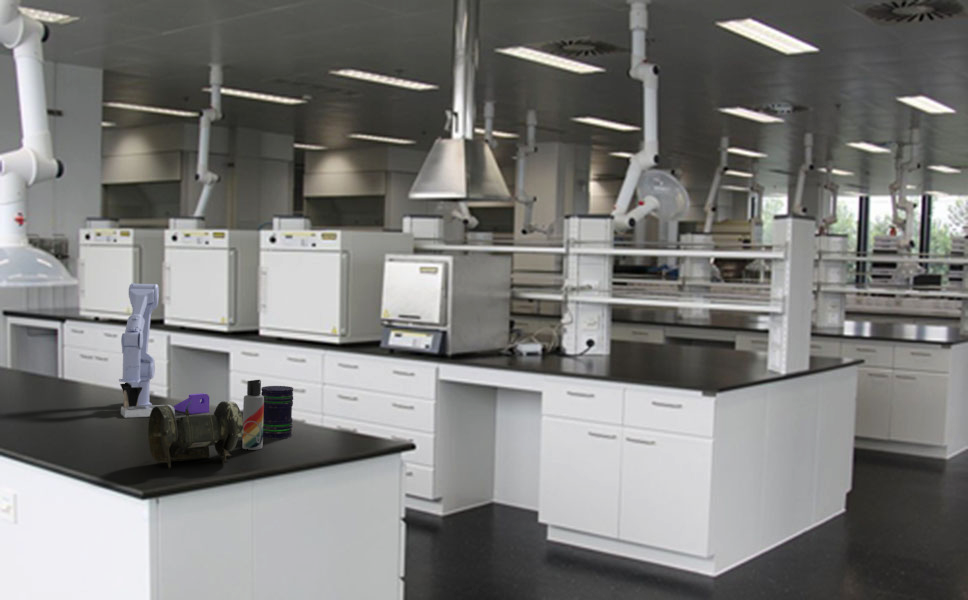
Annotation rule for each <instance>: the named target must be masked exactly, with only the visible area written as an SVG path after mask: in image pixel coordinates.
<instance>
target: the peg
mask: <svg viewBox="0 0 968 600" xmlns="http://www.w3.org/2000/svg"><path fill="white" fill-rule="evenodd" d="M125 406H129V403H128V396H127V392H126V390H124V393H123V407H125ZM136 406H138V401H137V405H136Z"/></svg>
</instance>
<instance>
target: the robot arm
mask: <svg viewBox="0 0 968 600" xmlns="http://www.w3.org/2000/svg"><path fill="white" fill-rule="evenodd" d="M159 294H160V286H159V285H158V284H157V283H133V282H132V283H130V284H129V286H128V298H129V303H130V305H131V307H132V312H131V313H132V314H131V315H130V316H128V317H127V322H126V326H125V330H124V333H122V334H121V339H120V340H121V341H120V343H121V353H122V378H119V379H118V381H119V382H121V383H120V384H119V385H120V387H121V390H122V392H123V394H124V390H126V392H127V396H128V403H129V406H136V405H137V401H138V406H150V405H153V403H152V402H150V392H151V390H150V388H151V387H150V384H151V382H150V381H151V380H152V379H153V378H154V376H155V370H156V369H155V367H156V366H155V363H156V362H155V358H154V357H153V356H152V355H151V354H149V353H148V350H149V349H148V348H149V339H150V329H151V316H152V314H153V311H154V310H155V309H158V306H159V298H160V297H159V296H160V295H159Z"/></svg>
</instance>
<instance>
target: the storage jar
mask: <svg viewBox="0 0 968 600" xmlns="http://www.w3.org/2000/svg"><path fill="white" fill-rule="evenodd" d="M293 391H294V387H292V386H285V385H267V386H261V395H262V396H264V412H263V437H264V438H263V439H268V438H272V439H274V440H281V438H284V439H288V437H289V438H291V437H293V434H292V432H293V417H292V416H293V415H292V413H293V405H294V392H293ZM272 439H271V440H272Z"/></svg>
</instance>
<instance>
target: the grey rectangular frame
mask: <svg viewBox="0 0 968 600" xmlns="http://www.w3.org/2000/svg"><path fill="white" fill-rule="evenodd" d="M164 405H165V404H159V405H158V404H156V405H154V404H152V405H144V406H125V407H124V406H120V415H121V416H122V417H123V418H124V419H129V418H149V417H150V414H151V411H152V409H153V408H154V407H156V406H164ZM167 405H168V406H169V407H170V408H171V409H172V411H173V413H174V416H175V413H176V412H175V411H176V410H175V408H174V406H172V405H171V404H167Z"/></svg>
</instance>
